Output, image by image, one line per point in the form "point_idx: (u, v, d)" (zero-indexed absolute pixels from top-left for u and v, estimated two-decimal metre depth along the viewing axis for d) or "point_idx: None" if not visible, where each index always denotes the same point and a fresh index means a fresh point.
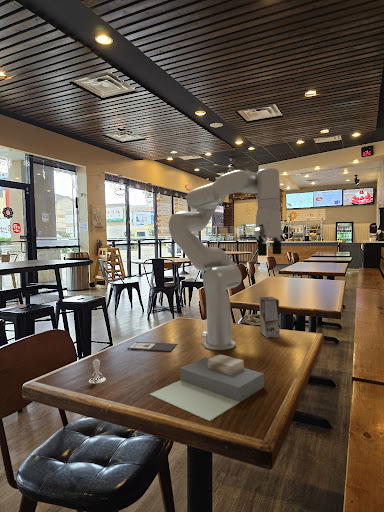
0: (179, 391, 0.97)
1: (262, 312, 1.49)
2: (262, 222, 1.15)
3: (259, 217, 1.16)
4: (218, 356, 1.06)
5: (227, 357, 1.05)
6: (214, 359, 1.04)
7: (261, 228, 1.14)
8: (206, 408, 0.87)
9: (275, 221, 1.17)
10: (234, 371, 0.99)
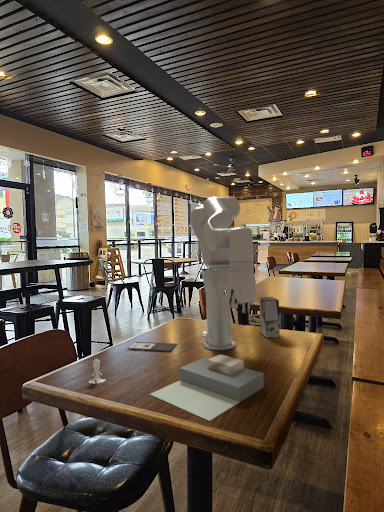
0: (179, 391, 0.97)
1: (262, 312, 1.49)
2: (233, 287, 1.05)
3: (230, 281, 1.06)
4: (218, 356, 1.06)
5: (227, 357, 1.05)
6: (214, 359, 1.04)
7: (235, 304, 1.05)
8: (206, 408, 0.87)
9: (248, 285, 1.07)
10: (234, 371, 0.99)
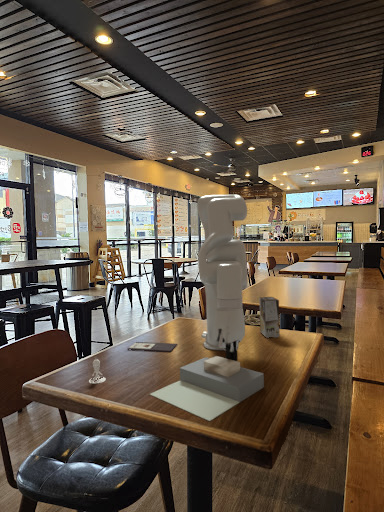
0: (179, 391, 0.97)
1: (262, 312, 1.49)
2: (221, 326, 1.01)
3: (218, 320, 1.02)
4: (214, 358, 1.05)
5: (223, 359, 1.04)
6: (210, 361, 1.02)
7: (222, 343, 1.01)
8: (206, 408, 0.87)
9: (236, 323, 1.03)
10: (230, 373, 0.98)
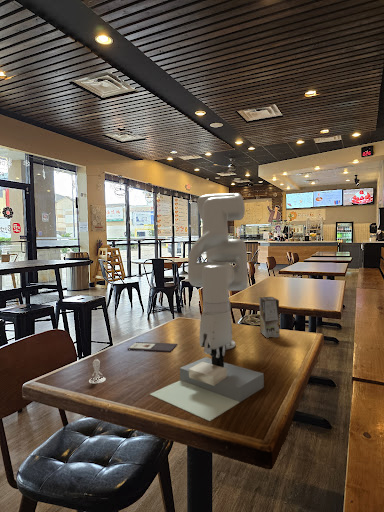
0: (179, 391, 0.97)
1: (262, 312, 1.49)
2: (206, 331, 0.96)
3: (203, 324, 0.97)
4: (200, 364, 1.00)
5: (209, 365, 0.99)
6: (196, 368, 0.97)
7: (207, 349, 0.96)
8: (206, 408, 0.87)
9: (222, 327, 0.98)
10: (217, 381, 0.93)
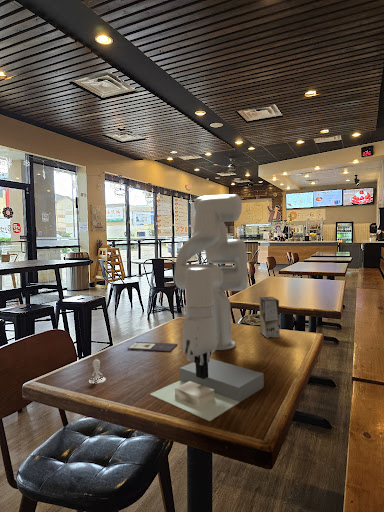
0: None
1: (262, 312, 1.49)
2: (189, 337, 0.91)
3: (186, 330, 0.92)
4: None
5: None
6: None
7: (190, 356, 0.91)
8: (206, 408, 0.87)
9: (206, 333, 0.93)
10: (210, 393, 0.91)
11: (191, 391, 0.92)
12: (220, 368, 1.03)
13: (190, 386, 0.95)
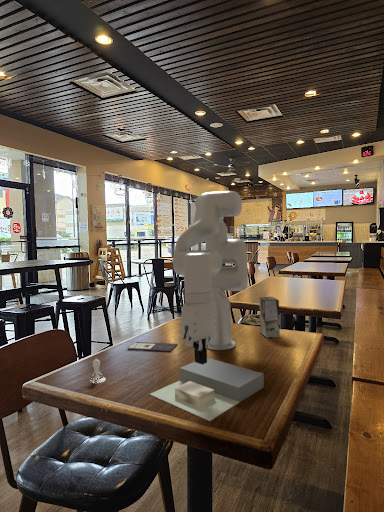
0: None
1: (262, 312, 1.49)
2: (187, 323, 0.91)
3: (184, 316, 0.92)
4: None
5: None
6: None
7: (189, 342, 0.91)
8: (206, 408, 0.87)
9: (205, 319, 0.93)
10: (210, 393, 0.91)
11: (191, 391, 0.92)
12: (220, 368, 1.03)
13: (190, 386, 0.95)
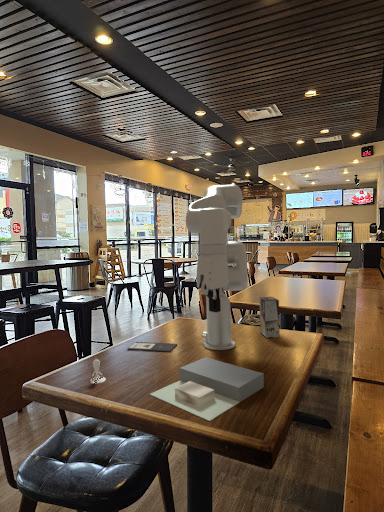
0: None
1: (262, 312, 1.49)
2: (203, 272, 0.98)
3: (200, 266, 0.99)
4: None
5: None
6: None
7: (204, 290, 0.99)
8: (206, 408, 0.87)
9: (219, 269, 1.00)
10: (210, 393, 0.91)
11: (191, 391, 0.92)
12: (220, 368, 1.03)
13: (190, 386, 0.95)
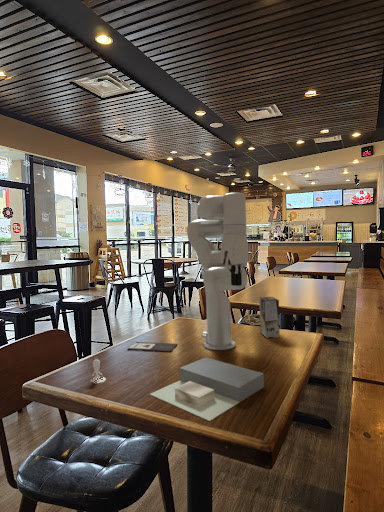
0: None
1: (262, 312, 1.49)
2: (227, 249, 1.11)
3: (224, 243, 1.12)
4: None
5: None
6: None
7: (228, 264, 1.11)
8: (206, 408, 0.87)
9: (240, 247, 1.13)
10: (210, 393, 0.91)
11: (191, 391, 0.92)
12: (220, 368, 1.03)
13: (190, 386, 0.95)
